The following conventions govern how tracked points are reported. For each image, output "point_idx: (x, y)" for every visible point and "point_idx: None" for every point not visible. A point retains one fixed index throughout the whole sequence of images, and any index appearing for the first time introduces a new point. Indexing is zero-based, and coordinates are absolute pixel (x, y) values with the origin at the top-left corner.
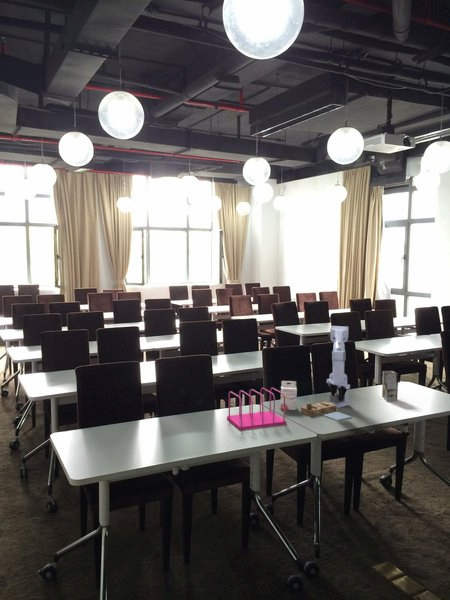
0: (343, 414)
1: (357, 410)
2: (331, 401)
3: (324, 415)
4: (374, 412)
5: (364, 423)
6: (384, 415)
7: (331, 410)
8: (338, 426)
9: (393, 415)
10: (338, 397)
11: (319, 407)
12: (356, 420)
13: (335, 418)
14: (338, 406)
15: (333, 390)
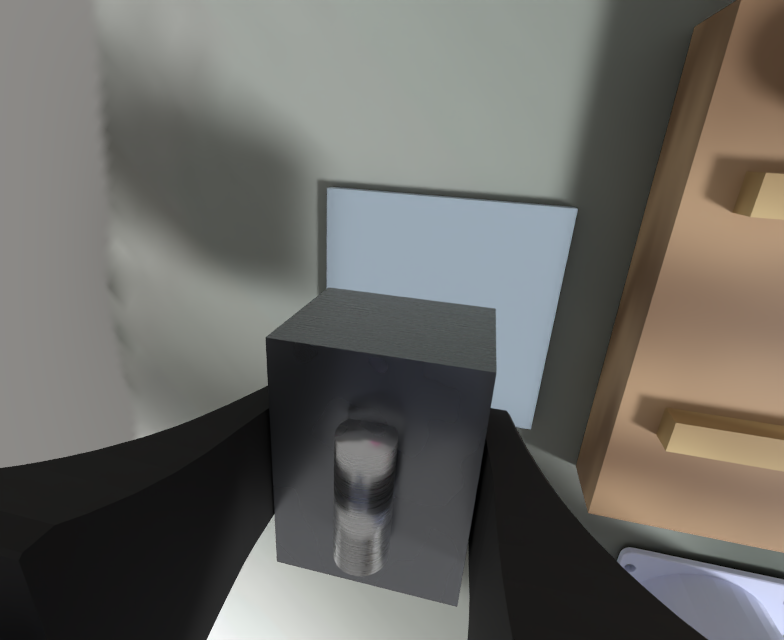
0: None
1: None
2: (454, 307)
3: (552, 205)
4: (325, 612)
5: (165, 343)
6: (240, 593)
7: (597, 411)
8: (199, 44)
9: None
10: (279, 389)
11: (728, 280)
12: (254, 360)
13: (378, 216)
14: (630, 572)
15: (487, 572)
